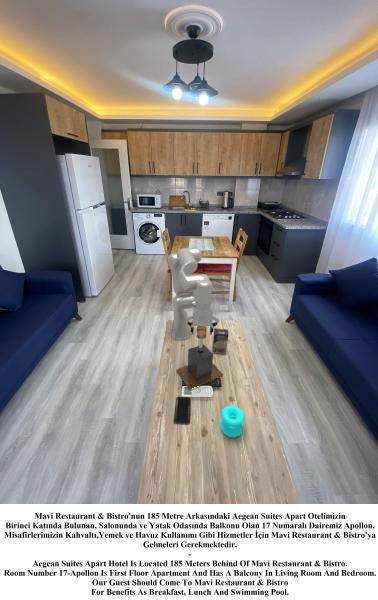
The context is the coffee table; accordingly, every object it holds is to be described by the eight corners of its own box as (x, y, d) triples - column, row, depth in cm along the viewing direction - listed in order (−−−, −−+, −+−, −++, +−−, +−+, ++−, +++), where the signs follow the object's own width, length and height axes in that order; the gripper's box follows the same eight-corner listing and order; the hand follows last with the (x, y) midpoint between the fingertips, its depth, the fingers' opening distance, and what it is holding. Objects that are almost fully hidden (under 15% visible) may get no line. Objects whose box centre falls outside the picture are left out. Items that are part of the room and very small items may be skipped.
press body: (176, 371, 142) (176, 349, 135) (207, 359, 152) (209, 338, 145) (189, 390, 130) (190, 367, 123) (222, 376, 140) (225, 353, 132)
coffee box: (212, 354, 157) (213, 333, 150) (212, 348, 163) (213, 328, 155) (226, 355, 156) (228, 335, 149) (225, 349, 162) (228, 329, 155)
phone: (173, 422, 112) (176, 396, 126) (173, 424, 113) (176, 398, 126) (190, 423, 112) (191, 397, 125) (190, 425, 113) (191, 398, 126)
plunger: (190, 357, 137) (191, 326, 128) (202, 353, 141) (204, 322, 131) (197, 366, 131) (199, 334, 122) (210, 361, 135) (212, 330, 125)
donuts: (221, 421, 103) (222, 402, 112) (219, 436, 108) (220, 417, 116) (245, 425, 102) (244, 406, 110) (242, 440, 106) (241, 420, 115)
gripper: (185, 307, 116) (185, 336, 124) (221, 308, 116) (218, 337, 124) (185, 300, 123) (185, 328, 131) (219, 301, 123) (217, 329, 131)
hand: (201, 332), depth 128 cm, fingers open, 9 cm apart
